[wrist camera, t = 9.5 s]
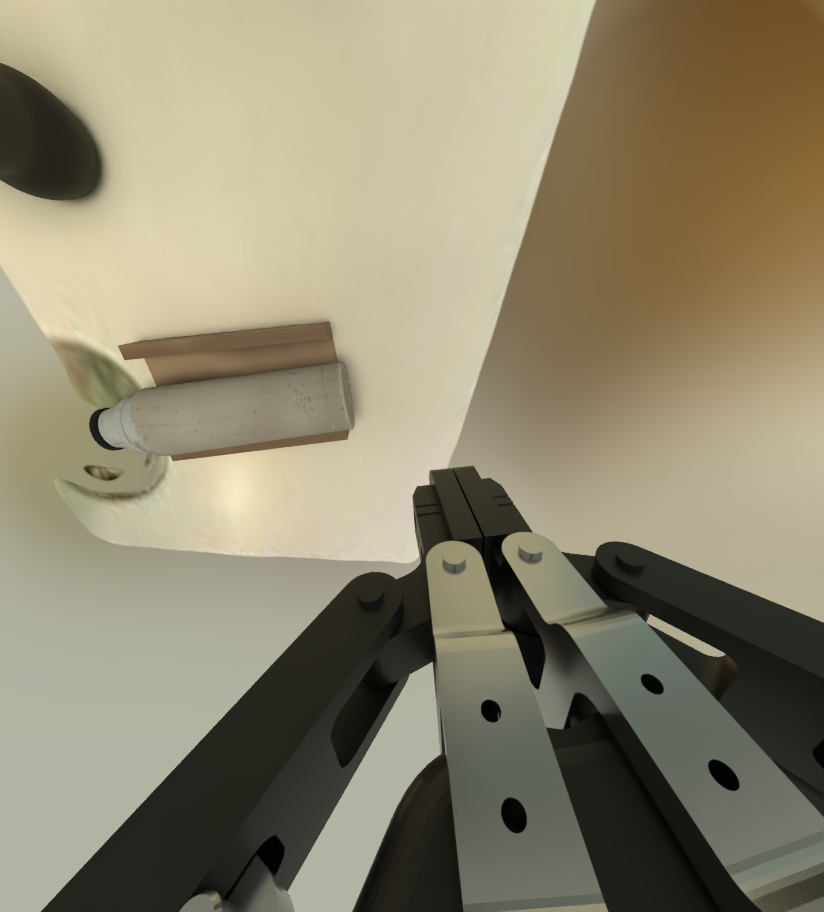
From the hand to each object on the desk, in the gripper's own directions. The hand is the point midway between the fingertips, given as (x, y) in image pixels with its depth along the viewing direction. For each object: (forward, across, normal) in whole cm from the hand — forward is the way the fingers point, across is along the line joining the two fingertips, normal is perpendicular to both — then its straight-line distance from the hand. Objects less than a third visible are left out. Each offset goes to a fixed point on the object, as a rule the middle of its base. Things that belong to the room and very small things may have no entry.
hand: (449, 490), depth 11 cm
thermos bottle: (+29, +6, +5) cm, 30 cm away
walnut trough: (+34, +18, +4) cm, 39 cm away
